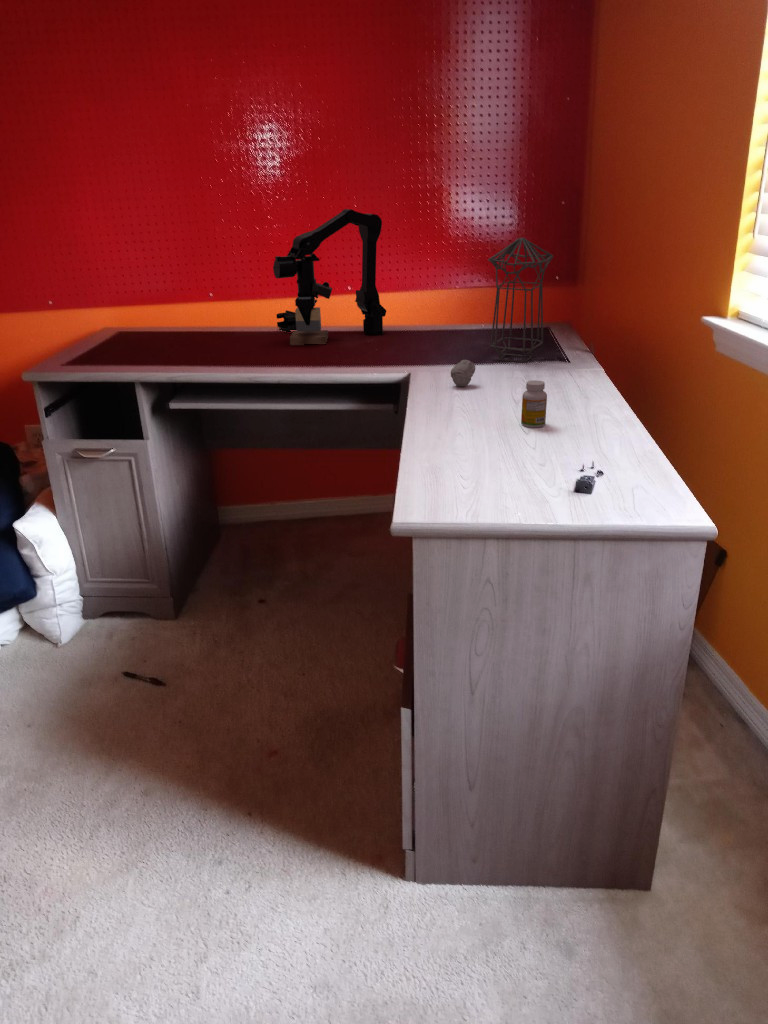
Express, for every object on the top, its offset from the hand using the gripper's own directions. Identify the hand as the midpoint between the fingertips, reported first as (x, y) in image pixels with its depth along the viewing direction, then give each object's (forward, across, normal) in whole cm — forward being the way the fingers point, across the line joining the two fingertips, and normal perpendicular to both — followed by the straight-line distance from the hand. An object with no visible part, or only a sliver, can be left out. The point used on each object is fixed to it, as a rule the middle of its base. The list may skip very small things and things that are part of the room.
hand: (308, 323), depth 266 cm
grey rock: (+6, -64, -46) cm, 79 cm away
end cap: (+6, +20, +8) cm, 22 cm away
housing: (+2, 0, 0) cm, 2 cm away
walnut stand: (+6, 0, 0) cm, 6 cm away
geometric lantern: (+6, -34, -65) cm, 74 cm away
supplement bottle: (+6, -99, -59) cm, 115 cm away
